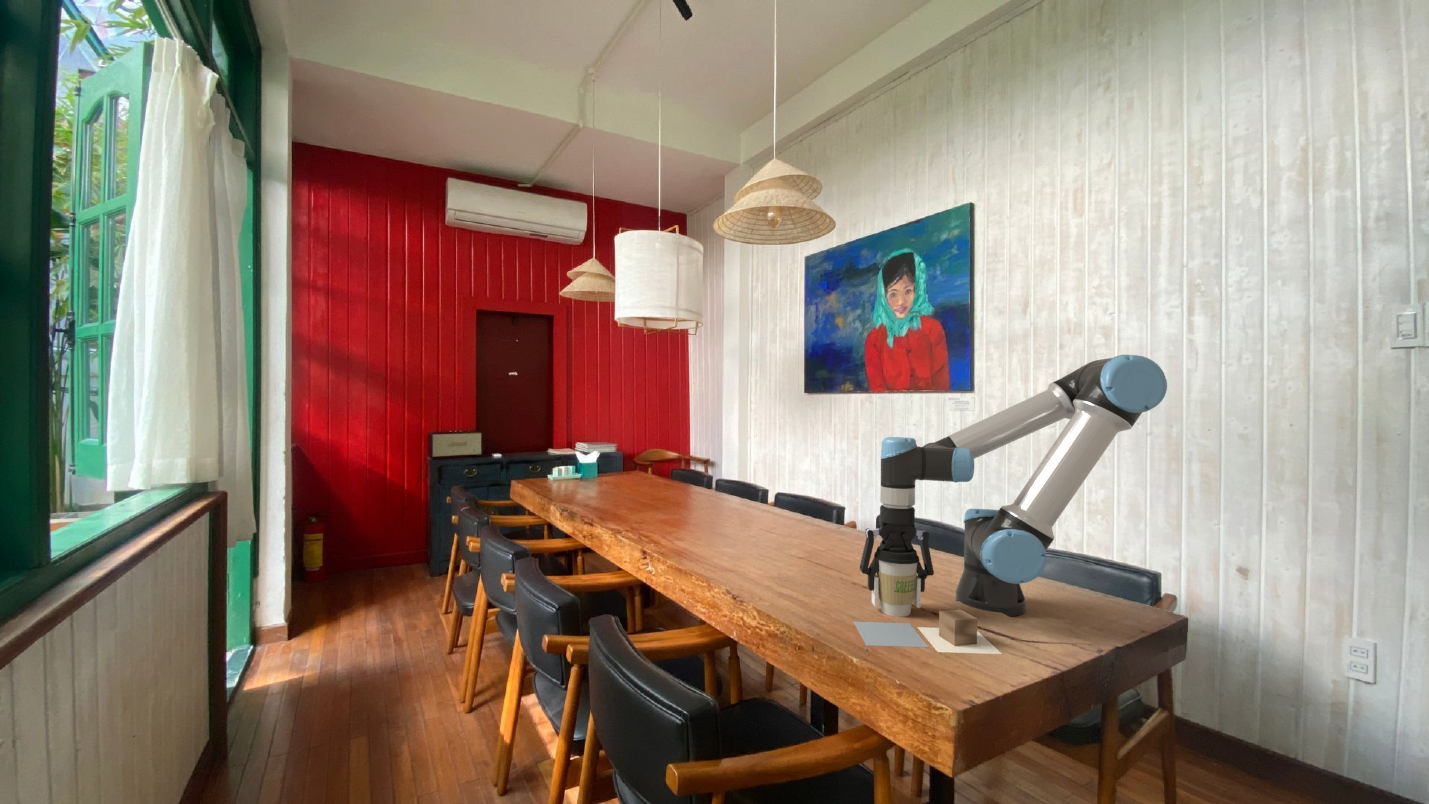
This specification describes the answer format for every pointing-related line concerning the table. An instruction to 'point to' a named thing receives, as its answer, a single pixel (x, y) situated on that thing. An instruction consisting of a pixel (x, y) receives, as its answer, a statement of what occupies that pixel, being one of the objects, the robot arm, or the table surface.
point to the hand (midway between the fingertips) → (895, 605)
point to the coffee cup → (896, 580)
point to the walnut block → (958, 627)
